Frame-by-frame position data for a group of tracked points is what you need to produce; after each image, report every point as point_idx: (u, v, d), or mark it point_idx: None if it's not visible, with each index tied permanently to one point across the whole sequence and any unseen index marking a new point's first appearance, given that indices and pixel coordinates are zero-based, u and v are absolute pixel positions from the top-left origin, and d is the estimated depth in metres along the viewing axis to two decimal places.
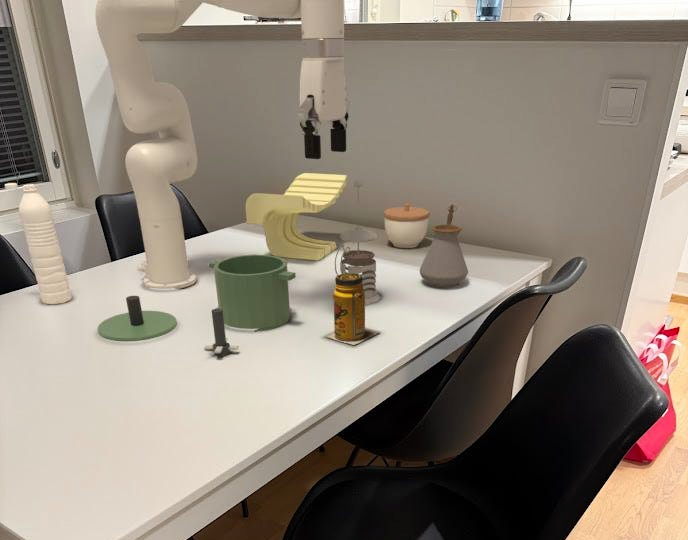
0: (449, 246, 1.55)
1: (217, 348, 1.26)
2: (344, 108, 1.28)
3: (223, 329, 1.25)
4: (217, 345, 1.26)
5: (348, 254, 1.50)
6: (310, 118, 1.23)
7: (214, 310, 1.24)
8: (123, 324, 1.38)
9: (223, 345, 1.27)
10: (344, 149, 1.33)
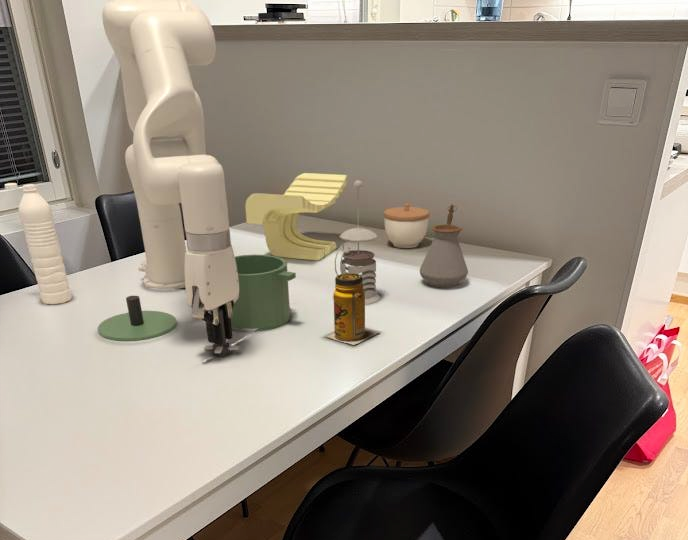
0: (449, 246, 1.55)
1: (217, 348, 1.26)
2: (236, 289, 1.24)
3: (223, 329, 1.25)
4: (217, 345, 1.26)
5: (348, 254, 1.50)
6: (205, 309, 1.21)
7: None
8: (123, 324, 1.38)
9: (223, 345, 1.27)
10: (230, 337, 1.27)
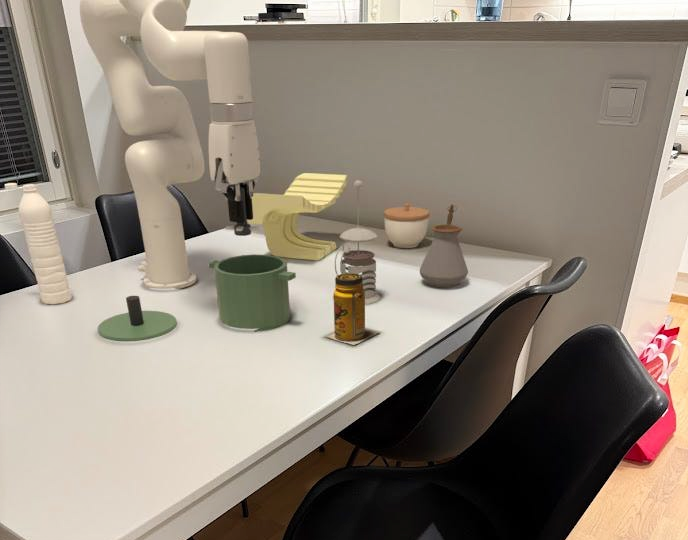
0: (449, 246, 1.55)
1: (239, 227, 1.29)
2: (258, 168, 1.28)
3: (244, 208, 1.29)
4: (238, 225, 1.30)
5: (348, 254, 1.50)
6: (227, 185, 1.25)
7: None
8: (123, 324, 1.38)
9: (244, 225, 1.30)
10: (251, 217, 1.31)
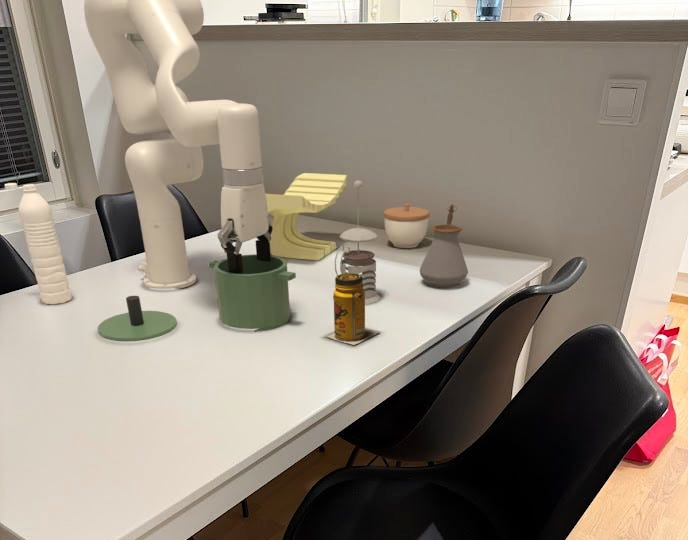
0: (449, 246, 1.55)
1: None
2: (266, 224, 1.36)
3: None
4: None
5: (348, 254, 1.50)
6: (231, 238, 1.31)
7: None
8: (123, 324, 1.38)
9: None
10: (269, 259, 1.40)
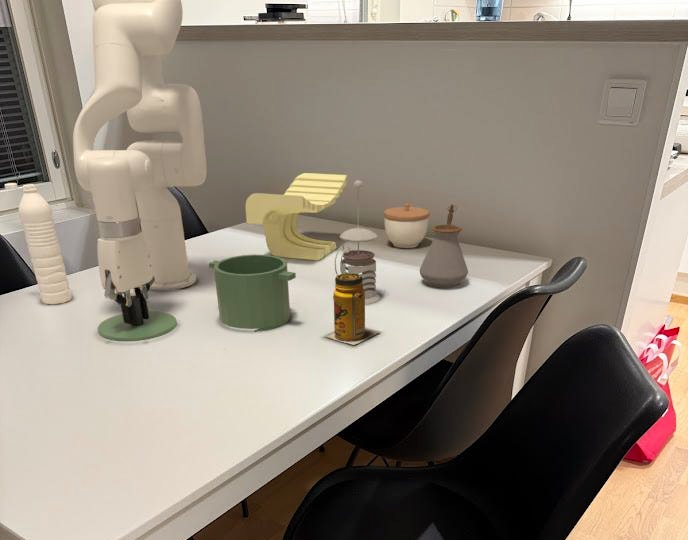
0: (449, 246, 1.55)
1: None
2: (149, 273, 1.35)
3: None
4: None
5: (348, 254, 1.50)
6: (118, 291, 1.33)
7: None
8: (123, 324, 1.38)
9: None
10: (146, 317, 1.38)
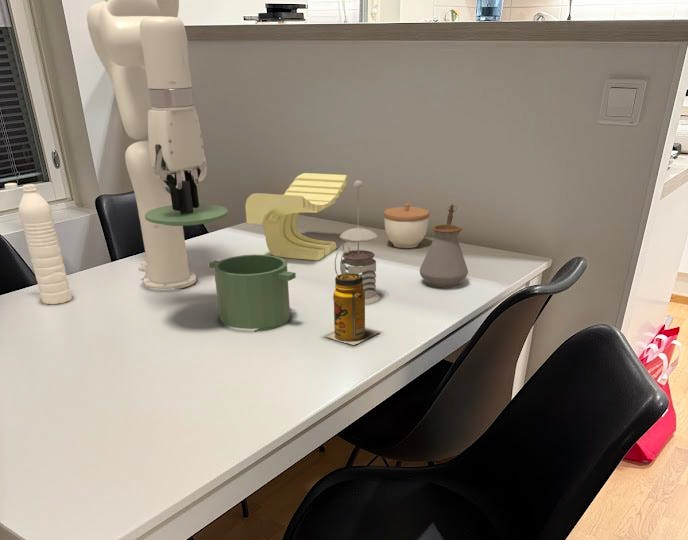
0: (449, 246, 1.55)
1: None
2: (201, 155, 1.26)
3: None
4: None
5: (348, 254, 1.50)
6: (168, 172, 1.24)
7: None
8: (172, 212, 1.29)
9: None
10: (196, 205, 1.29)
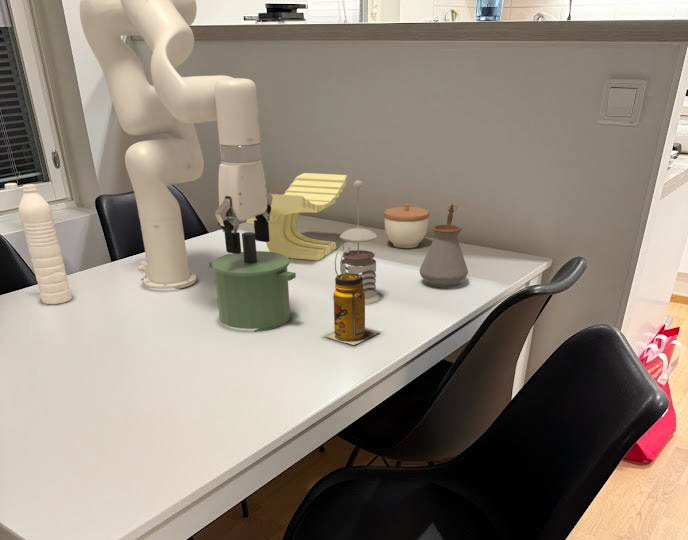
0: (449, 246, 1.55)
1: None
2: (265, 204, 1.33)
3: None
4: None
5: (348, 254, 1.50)
6: (229, 216, 1.29)
7: None
8: (237, 262, 1.37)
9: None
10: (267, 239, 1.38)
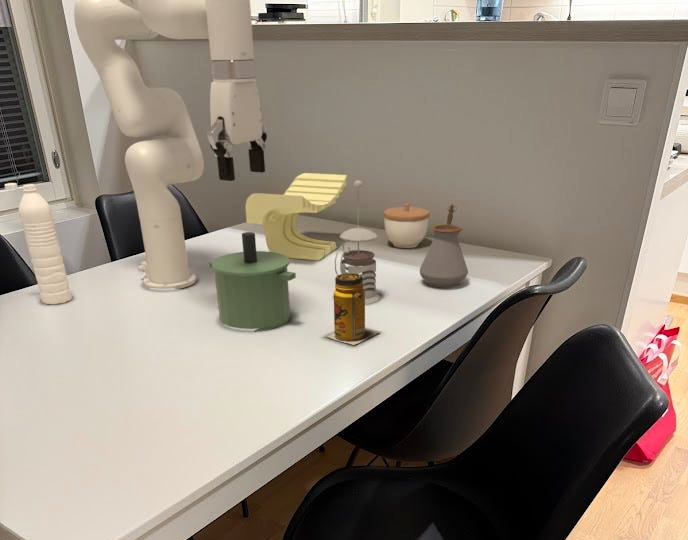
0: (449, 246, 1.55)
1: None
2: (260, 129, 1.26)
3: None
4: None
5: (348, 254, 1.50)
6: (222, 140, 1.22)
7: None
8: (237, 262, 1.37)
9: None
10: (263, 170, 1.31)
